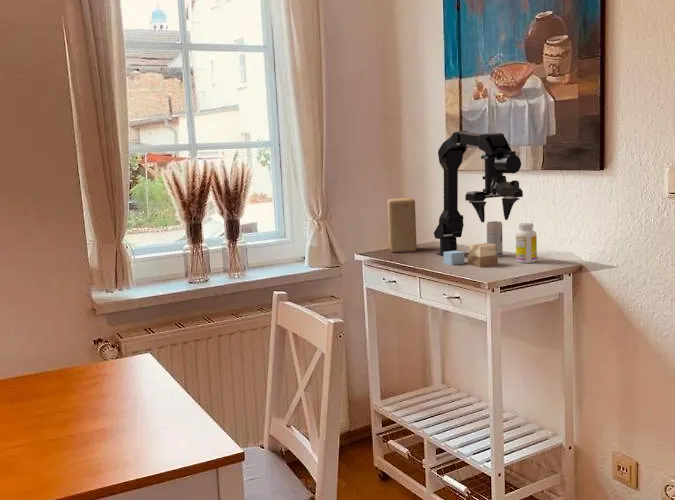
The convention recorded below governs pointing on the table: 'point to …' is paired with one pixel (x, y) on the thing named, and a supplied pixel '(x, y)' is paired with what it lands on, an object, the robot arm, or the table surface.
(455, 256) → the top block
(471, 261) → the base block
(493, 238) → the energy drink
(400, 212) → the wooden block
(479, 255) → the mid block
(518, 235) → the supplement bottle
